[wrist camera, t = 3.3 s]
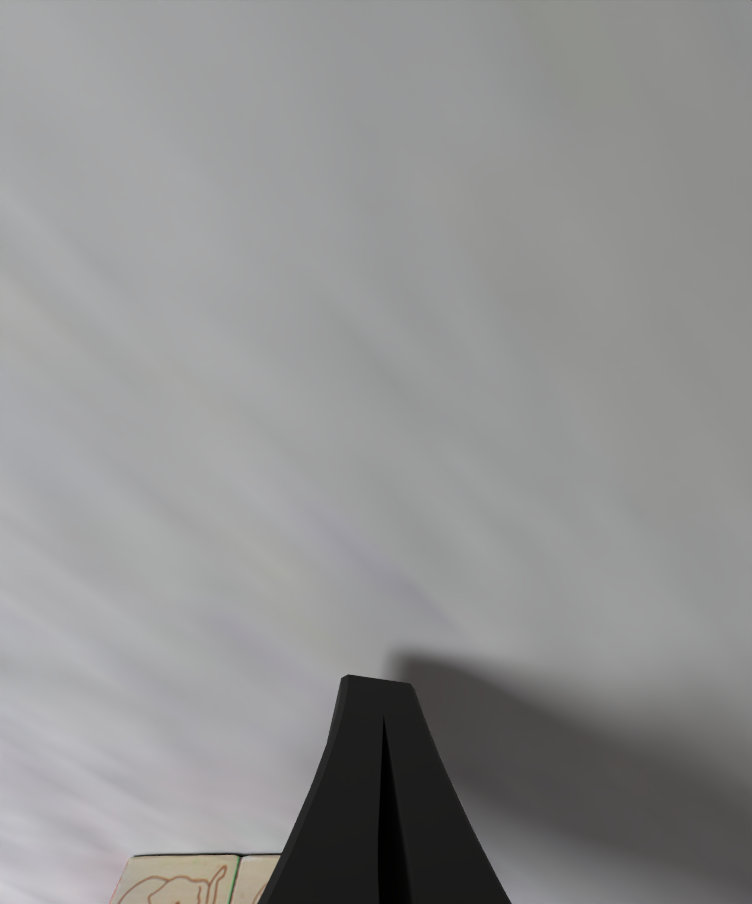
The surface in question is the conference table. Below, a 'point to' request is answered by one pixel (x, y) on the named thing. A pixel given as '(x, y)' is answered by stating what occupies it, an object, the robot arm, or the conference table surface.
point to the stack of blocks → (194, 879)
